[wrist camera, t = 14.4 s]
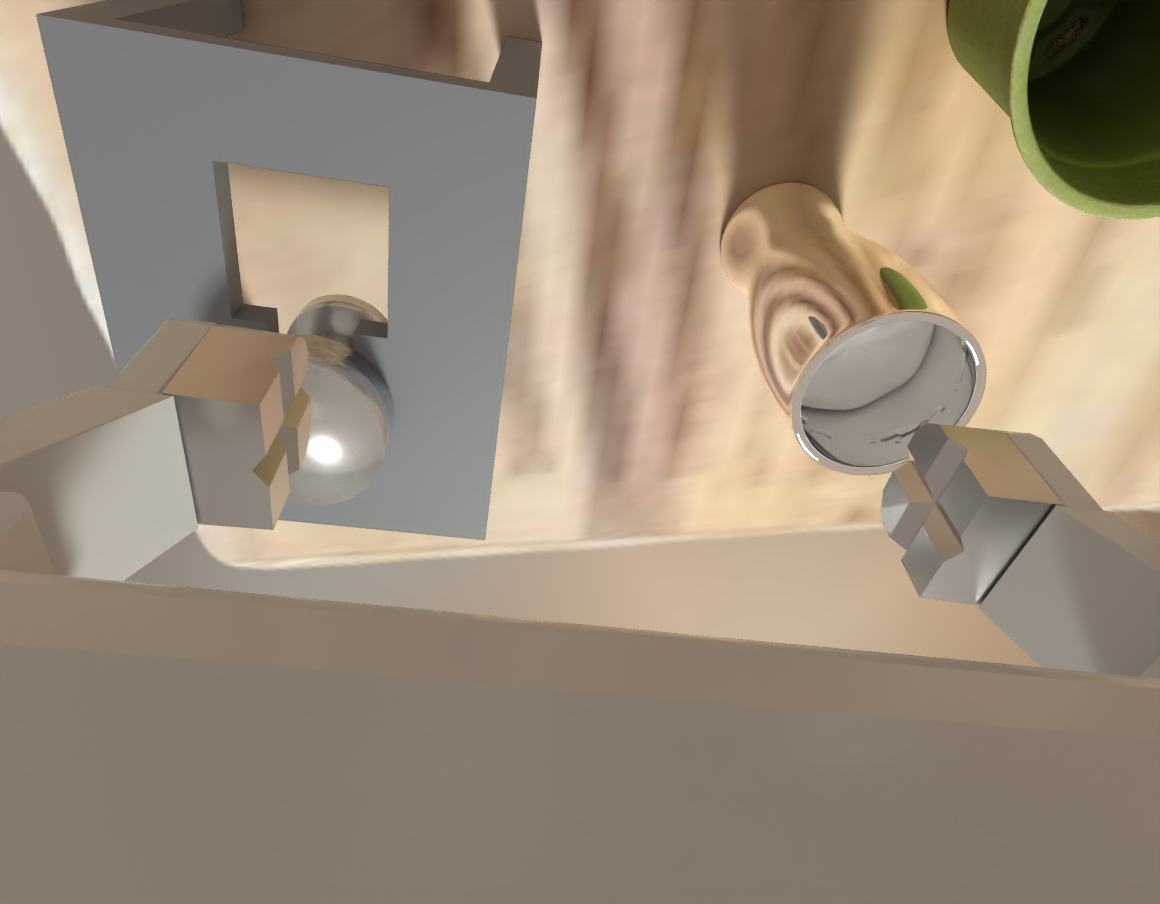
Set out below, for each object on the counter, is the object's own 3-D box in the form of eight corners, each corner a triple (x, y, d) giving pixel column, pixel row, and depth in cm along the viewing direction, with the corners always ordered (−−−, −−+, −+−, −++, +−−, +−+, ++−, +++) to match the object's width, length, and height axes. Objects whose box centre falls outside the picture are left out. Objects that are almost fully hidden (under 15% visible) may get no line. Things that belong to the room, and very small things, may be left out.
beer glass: (817, 317, 40) (932, 493, 28) (693, 293, 39) (756, 465, 27) (873, 188, 36) (1035, 327, 24) (737, 158, 35) (834, 287, 23)
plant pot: (975, -235, 27) (1187, -309, 18) (1247, -141, 29) (1563, -165, 20) (839, 107, 34) (943, 178, 25) (1066, 165, 36) (1241, 253, 27)
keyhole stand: (201, -19, 30) (36, 14, 21) (542, 42, 32) (536, 98, 22) (245, 365, 41) (148, 506, 31) (501, 396, 42) (485, 540, 33)
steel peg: (269, 266, 31) (197, 356, 24) (417, 287, 31) (383, 379, 25) (279, 391, 34) (218, 497, 28) (413, 407, 35) (382, 514, 29)
